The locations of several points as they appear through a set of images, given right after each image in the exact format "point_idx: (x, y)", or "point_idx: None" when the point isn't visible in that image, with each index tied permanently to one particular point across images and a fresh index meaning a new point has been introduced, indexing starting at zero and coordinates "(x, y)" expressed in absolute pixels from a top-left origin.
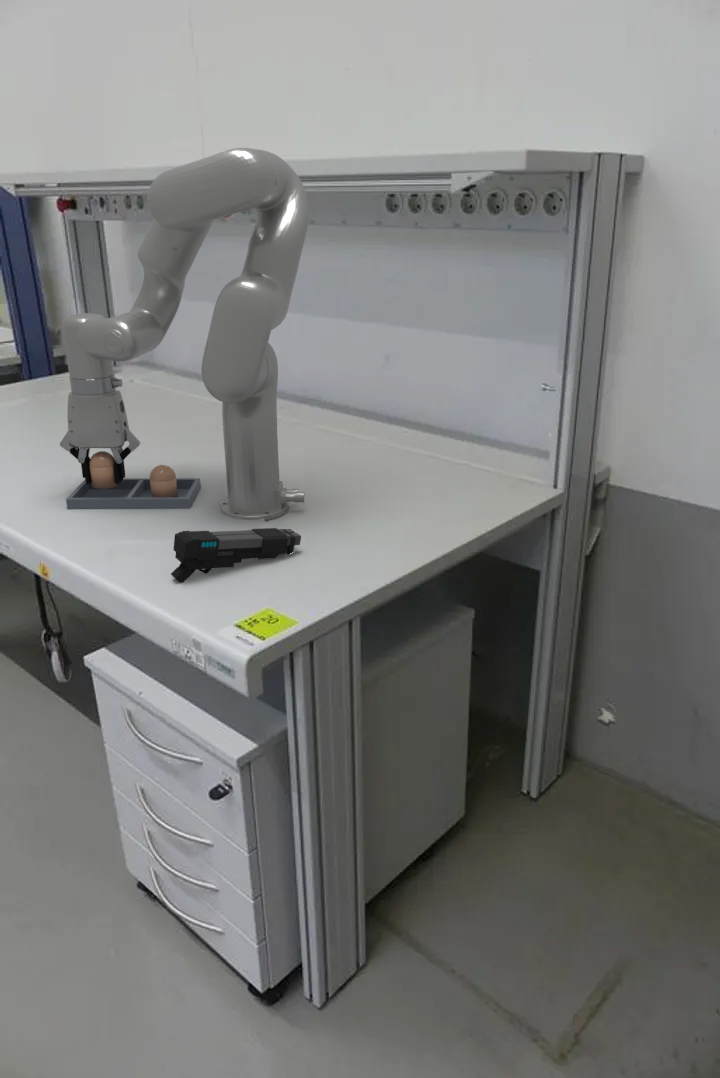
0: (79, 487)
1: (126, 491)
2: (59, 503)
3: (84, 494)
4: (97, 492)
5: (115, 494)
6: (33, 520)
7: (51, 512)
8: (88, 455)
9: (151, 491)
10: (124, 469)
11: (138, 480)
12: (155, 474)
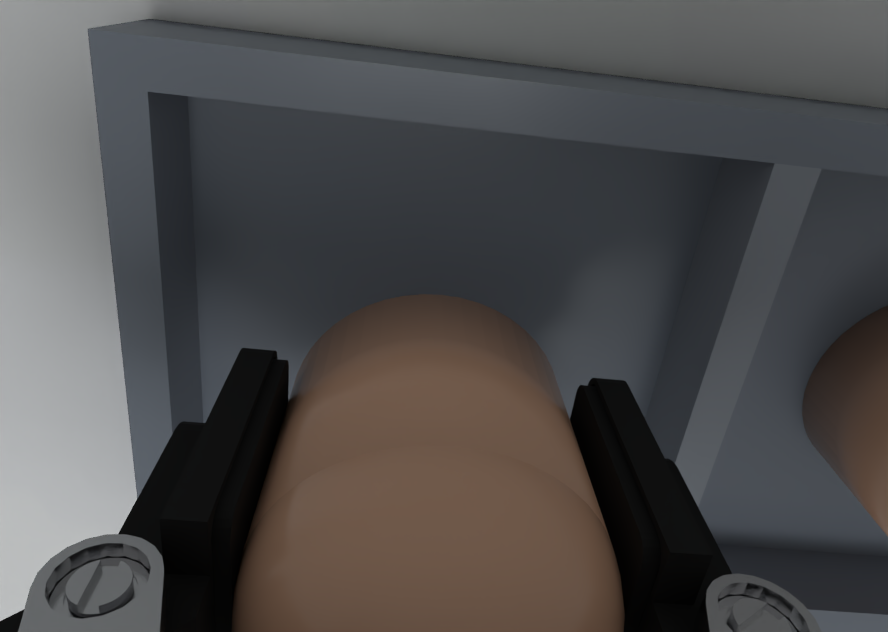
0: (146, 338)
1: (587, 197)
2: (29, 338)
3: (193, 243)
4: (303, 192)
5: (489, 265)
6: (10, 606)
7: (61, 501)
8: (164, 625)
9: (842, 466)
10: (692, 510)
11: (756, 160)
12: None
